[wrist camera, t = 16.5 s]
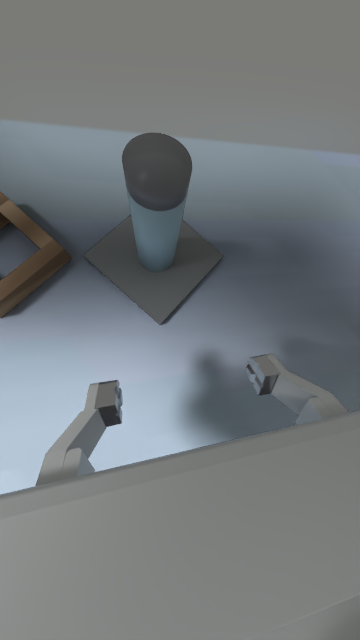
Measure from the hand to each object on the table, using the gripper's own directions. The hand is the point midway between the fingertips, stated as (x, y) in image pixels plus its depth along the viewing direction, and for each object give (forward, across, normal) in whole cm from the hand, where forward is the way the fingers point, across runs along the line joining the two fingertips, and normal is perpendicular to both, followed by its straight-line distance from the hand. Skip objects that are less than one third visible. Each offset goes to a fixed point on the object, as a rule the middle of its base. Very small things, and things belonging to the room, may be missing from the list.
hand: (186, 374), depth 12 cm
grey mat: (+15, 0, -2) cm, 15 cm away
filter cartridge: (+14, 0, -3) cm, 15 cm away
